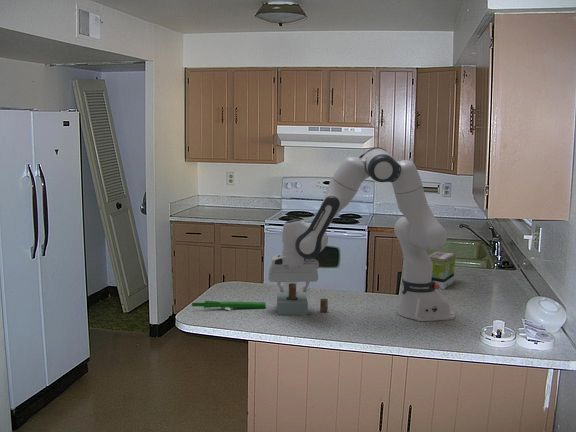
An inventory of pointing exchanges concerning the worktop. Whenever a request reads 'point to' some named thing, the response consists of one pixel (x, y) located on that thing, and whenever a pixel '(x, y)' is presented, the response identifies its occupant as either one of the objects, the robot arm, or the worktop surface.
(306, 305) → the hole block
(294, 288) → the long peg
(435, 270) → the tea box
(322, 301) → the short peg
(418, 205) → the robot arm
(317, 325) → the worktop surface
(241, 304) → the green onion
